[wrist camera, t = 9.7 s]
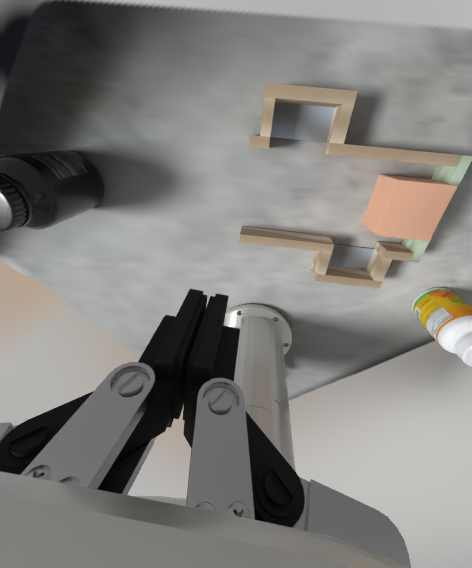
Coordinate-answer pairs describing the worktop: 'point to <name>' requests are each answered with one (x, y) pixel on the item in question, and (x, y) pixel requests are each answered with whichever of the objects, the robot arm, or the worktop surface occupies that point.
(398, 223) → the terracotta block
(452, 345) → the supplement bottle
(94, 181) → the supplement bottle
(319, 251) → the trap lane
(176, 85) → the worktop surface
